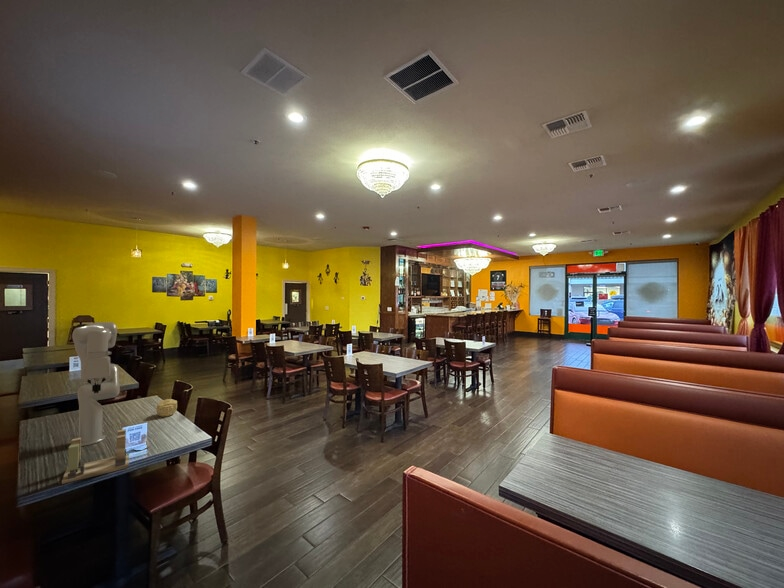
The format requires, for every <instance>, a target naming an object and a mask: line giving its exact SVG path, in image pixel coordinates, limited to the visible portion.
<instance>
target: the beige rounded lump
mask: <svg viewBox="0 0 784 588" xmlns="http://www.w3.org/2000/svg"><path fill="white" fill-rule="evenodd" d="M177 409H178V400H175V399H172V398H166V399H162V400H161V401H160V402H158V403H157V404H156V414H157V415H158V416H159V417H162V418H166V417H170V415H171V416H173V415H174V414H176V412H177Z"/></svg>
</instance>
